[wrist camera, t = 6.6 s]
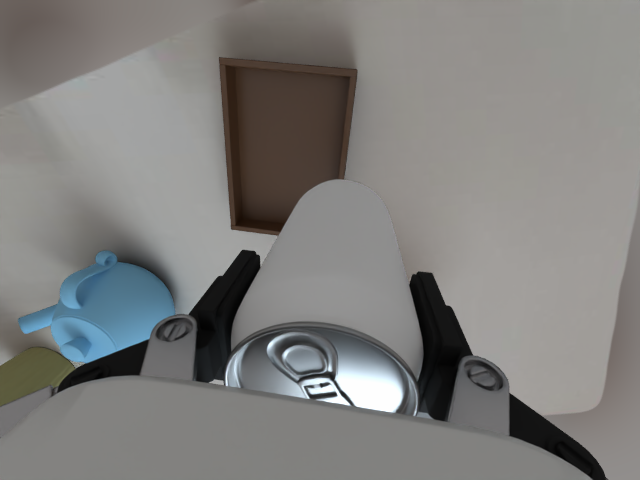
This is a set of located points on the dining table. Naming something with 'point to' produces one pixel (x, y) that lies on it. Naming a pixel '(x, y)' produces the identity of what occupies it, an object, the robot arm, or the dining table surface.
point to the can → (331, 308)
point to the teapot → (103, 309)
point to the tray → (282, 136)
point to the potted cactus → (32, 373)
